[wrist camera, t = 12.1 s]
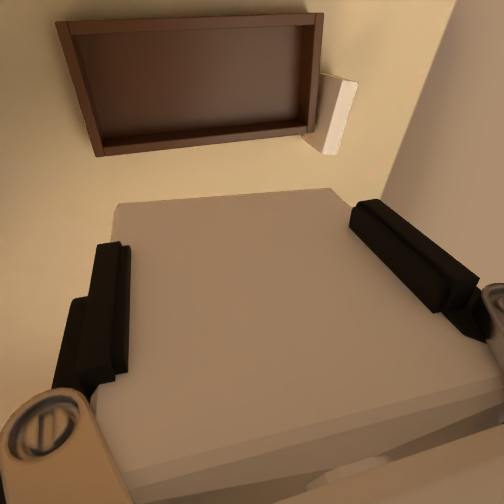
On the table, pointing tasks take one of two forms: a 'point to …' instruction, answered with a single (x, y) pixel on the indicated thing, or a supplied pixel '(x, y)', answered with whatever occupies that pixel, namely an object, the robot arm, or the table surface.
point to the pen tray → (193, 79)
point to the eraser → (331, 112)
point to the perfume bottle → (277, 354)
